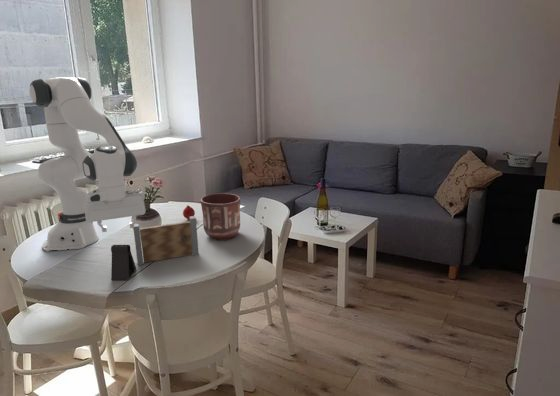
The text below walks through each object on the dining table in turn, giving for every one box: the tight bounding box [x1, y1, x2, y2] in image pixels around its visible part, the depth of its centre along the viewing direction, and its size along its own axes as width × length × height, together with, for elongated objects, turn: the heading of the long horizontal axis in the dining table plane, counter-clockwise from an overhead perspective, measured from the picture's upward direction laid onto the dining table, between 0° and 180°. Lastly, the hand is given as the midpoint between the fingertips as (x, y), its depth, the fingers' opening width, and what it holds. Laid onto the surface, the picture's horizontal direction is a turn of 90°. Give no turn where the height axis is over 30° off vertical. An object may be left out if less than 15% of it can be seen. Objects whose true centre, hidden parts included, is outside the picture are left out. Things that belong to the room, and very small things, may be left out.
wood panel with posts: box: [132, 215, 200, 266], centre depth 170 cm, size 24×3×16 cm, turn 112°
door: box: [139, 220, 193, 264], centre depth 169 cm, size 19×3×14 cm, turn 112°
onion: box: [182, 204, 196, 221], centre depth 215 cm, size 6×6×8 cm
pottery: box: [200, 192, 241, 241], centre depth 192 cm, size 18×18×18 cm
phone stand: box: [110, 244, 137, 281], centre depth 157 cm, size 9×6×12 cm, turn 177°
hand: (118, 229), depth 153 cm, fingers open, 8 cm apart
